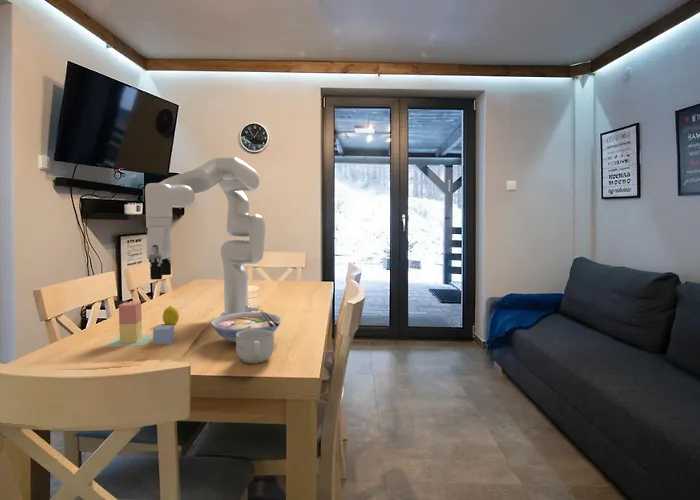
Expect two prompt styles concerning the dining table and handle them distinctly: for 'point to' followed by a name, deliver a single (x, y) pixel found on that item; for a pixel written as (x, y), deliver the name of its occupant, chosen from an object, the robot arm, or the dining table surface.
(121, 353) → the dining table surface
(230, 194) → the robot arm
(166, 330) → the block slate
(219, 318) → the ramen bowl
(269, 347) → the teacup
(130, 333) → the block ochre
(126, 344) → the baseplate
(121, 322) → the block brick
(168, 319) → the lemon
